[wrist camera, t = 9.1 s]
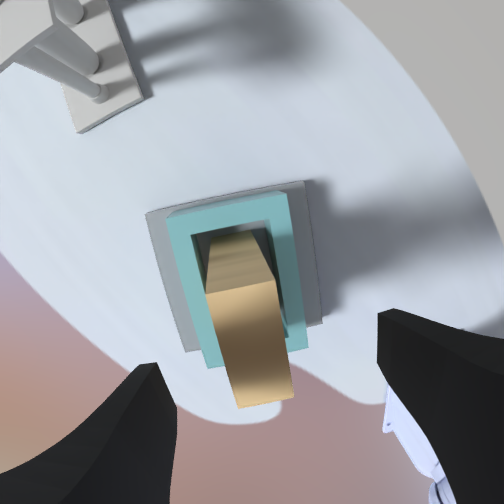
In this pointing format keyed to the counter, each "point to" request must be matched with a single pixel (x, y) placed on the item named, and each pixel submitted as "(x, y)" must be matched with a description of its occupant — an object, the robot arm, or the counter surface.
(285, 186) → the stand
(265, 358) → the plank
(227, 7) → the counter surface
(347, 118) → the counter surface
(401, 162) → the counter surface
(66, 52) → the test tube rack
